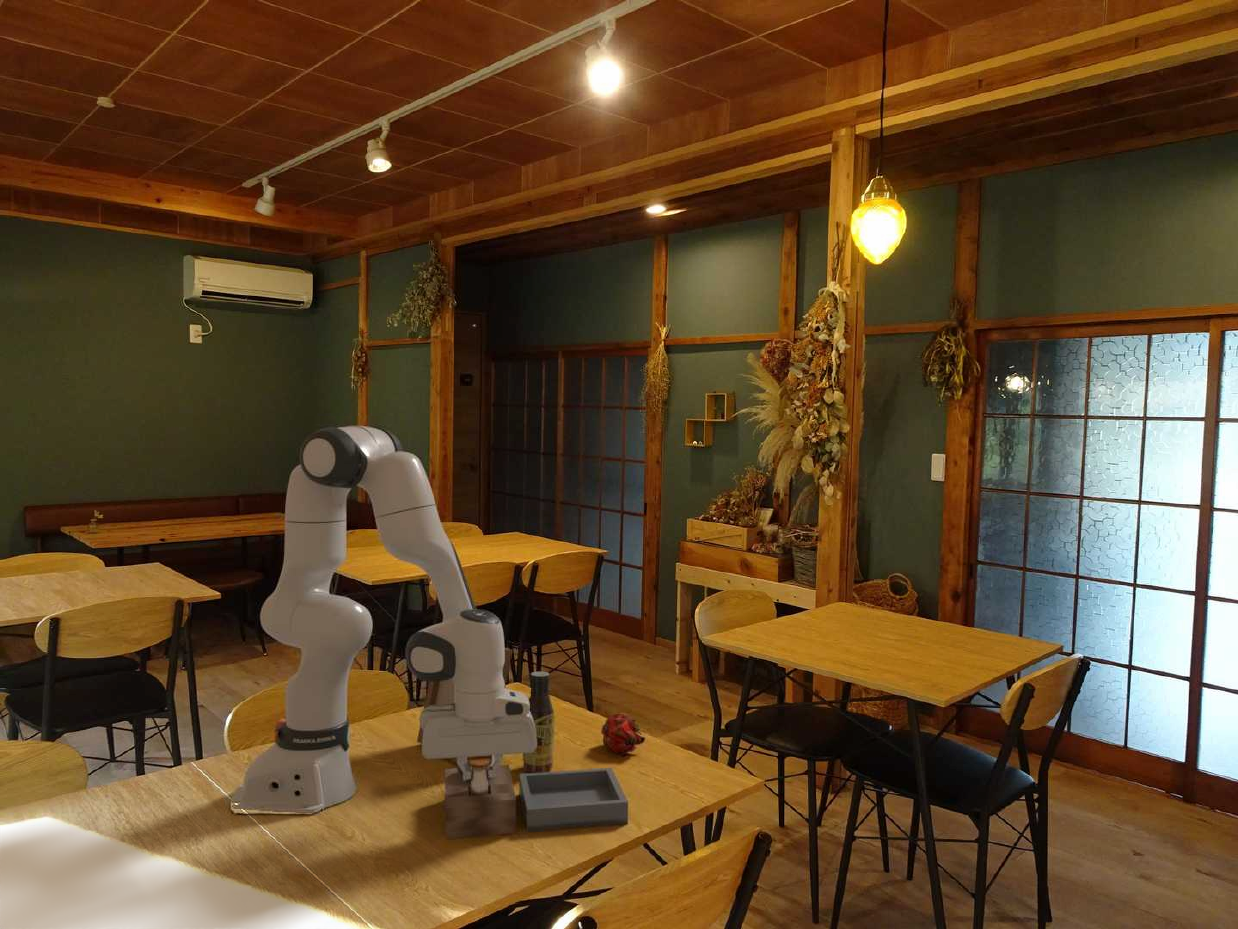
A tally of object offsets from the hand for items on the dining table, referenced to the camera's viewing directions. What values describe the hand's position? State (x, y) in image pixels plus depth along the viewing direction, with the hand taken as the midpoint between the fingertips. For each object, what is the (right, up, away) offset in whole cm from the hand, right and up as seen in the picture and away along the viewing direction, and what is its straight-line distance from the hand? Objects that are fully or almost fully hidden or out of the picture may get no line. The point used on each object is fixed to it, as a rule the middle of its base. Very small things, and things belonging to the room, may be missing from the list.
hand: (479, 778), depth 161 cm
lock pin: (0, -8, 0) cm, 8 cm away
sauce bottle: (+8, -7, +25) cm, 28 cm away
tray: (+16, -8, +7) cm, 19 cm away
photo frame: (-7, -6, +35) cm, 36 cm away
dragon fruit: (+26, -7, +36) cm, 45 cm away
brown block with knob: (-1, -8, +3) cm, 9 cm away
